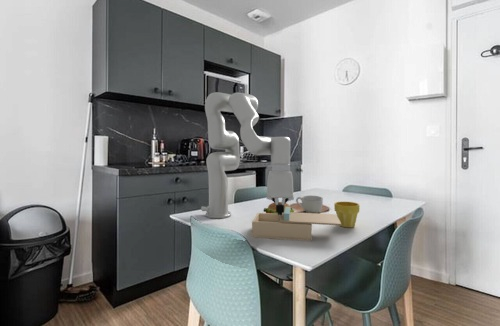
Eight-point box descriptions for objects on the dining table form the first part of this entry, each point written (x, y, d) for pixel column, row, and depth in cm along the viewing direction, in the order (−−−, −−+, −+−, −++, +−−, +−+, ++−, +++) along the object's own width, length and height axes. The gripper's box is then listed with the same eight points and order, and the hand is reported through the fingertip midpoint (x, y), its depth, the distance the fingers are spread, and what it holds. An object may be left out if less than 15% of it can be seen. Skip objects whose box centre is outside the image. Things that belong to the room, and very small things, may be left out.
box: (252, 237, 103) (252, 221, 102) (257, 226, 116) (257, 212, 116) (311, 240, 99) (311, 224, 98) (309, 229, 113) (310, 215, 112)
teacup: (325, 211, 145) (325, 196, 144) (318, 215, 135) (319, 199, 135) (300, 208, 152) (300, 194, 152) (293, 212, 143) (293, 197, 142)
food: (284, 214, 139) (284, 198, 138) (298, 221, 126) (299, 204, 125) (259, 216, 134) (259, 200, 133) (272, 224, 121) (272, 206, 120)
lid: (279, 222, 100) (279, 214, 100) (281, 213, 114) (281, 206, 114) (341, 225, 97) (341, 216, 96) (336, 215, 110) (336, 208, 110)
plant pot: (329, 223, 122) (329, 202, 121) (347, 221, 125) (348, 200, 125) (344, 230, 112) (345, 206, 111) (364, 227, 116) (365, 205, 115)
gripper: (260, 168, 104) (260, 215, 105) (299, 169, 101) (299, 217, 102) (262, 167, 111) (262, 211, 112) (299, 167, 109) (299, 212, 110)
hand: (279, 214), depth 107 cm, fingers closed
